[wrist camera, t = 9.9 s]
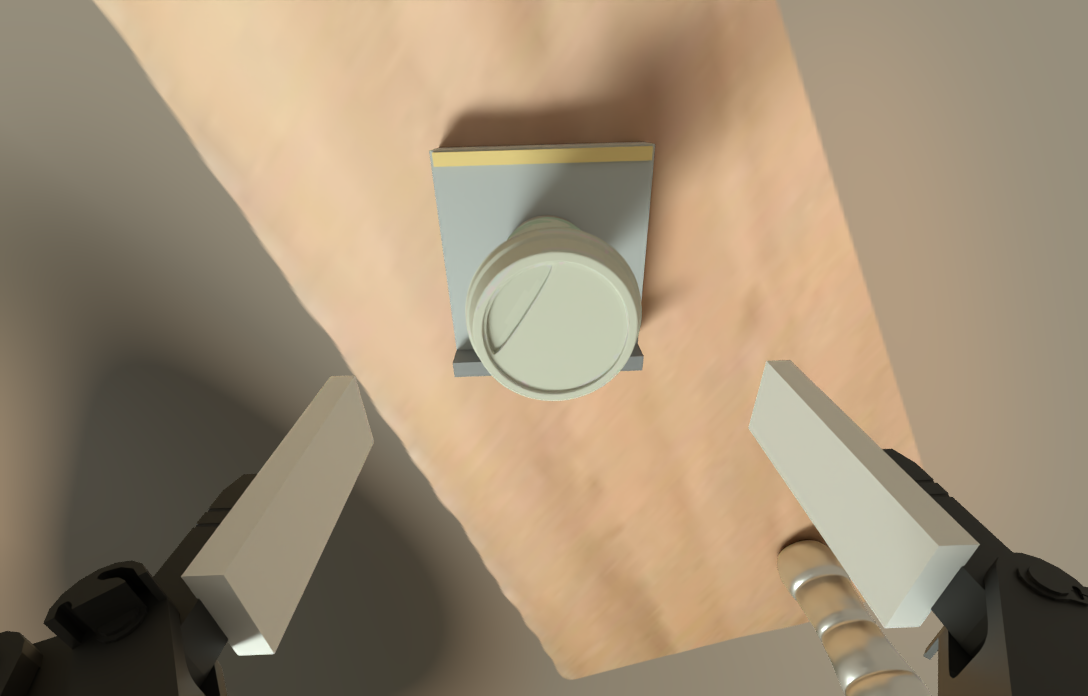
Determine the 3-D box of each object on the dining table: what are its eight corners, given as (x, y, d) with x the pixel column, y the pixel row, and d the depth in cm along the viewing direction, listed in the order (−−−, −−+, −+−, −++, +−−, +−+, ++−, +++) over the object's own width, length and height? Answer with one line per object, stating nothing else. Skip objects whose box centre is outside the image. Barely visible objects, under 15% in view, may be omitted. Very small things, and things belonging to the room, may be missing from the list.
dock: (438, 147, 29) (422, 153, 25) (644, 141, 29) (664, 145, 25) (463, 345, 36) (454, 376, 32) (628, 339, 36) (642, 370, 32)
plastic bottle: (823, 564, 52) (975, 794, 34) (766, 571, 52) (887, 803, 34) (831, 528, 49) (1002, 761, 31) (771, 536, 49) (906, 771, 31)
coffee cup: (578, 169, 27) (609, 200, 17) (625, 284, 31) (675, 369, 20) (461, 229, 29) (421, 292, 18) (519, 331, 32) (514, 434, 22)
